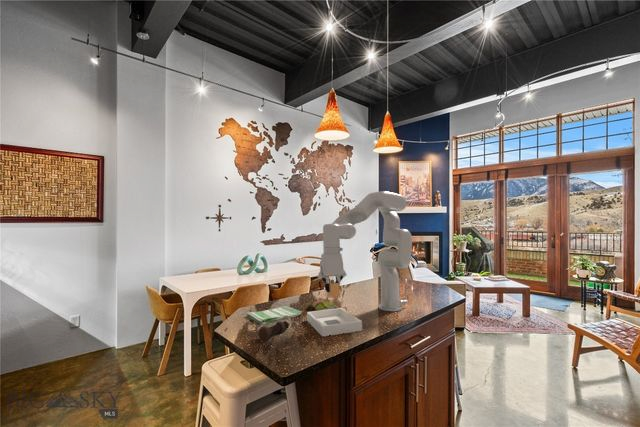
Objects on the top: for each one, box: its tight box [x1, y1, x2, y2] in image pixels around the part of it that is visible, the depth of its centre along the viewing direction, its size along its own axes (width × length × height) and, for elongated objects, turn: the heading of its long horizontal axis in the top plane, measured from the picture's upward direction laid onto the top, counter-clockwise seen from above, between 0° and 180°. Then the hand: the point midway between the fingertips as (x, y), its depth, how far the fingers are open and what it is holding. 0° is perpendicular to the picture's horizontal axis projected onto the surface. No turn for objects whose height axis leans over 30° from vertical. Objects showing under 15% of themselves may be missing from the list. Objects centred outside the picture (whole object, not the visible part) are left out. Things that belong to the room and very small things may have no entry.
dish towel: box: [246, 305, 303, 326], centre depth 151 cm, size 18×23×3 cm
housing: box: [306, 307, 363, 338], centre depth 134 cm, size 18×22×4 cm
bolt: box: [258, 320, 290, 342], centre depth 125 cm, size 6×5×15 cm
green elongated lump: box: [307, 297, 339, 311], centre depth 157 cm, size 12×7×25 cm
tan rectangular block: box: [326, 279, 341, 299], centre depth 134 cm, size 4×6×8 cm, turn 19°
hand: (332, 291), depth 135 cm, fingers closed on tan rectangular block, 3 cm apart
